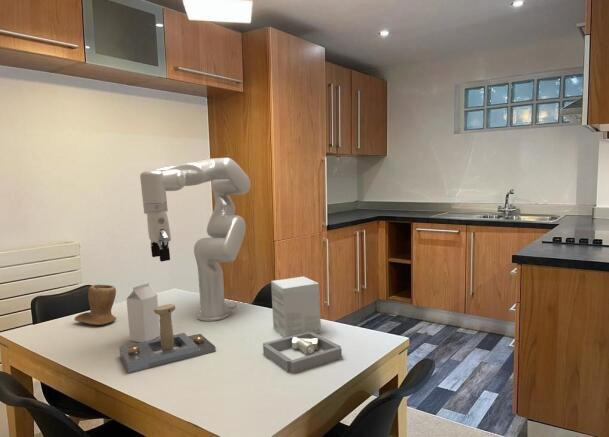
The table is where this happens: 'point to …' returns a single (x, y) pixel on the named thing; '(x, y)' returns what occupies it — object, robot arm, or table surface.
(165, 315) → the handle
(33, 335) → the table surface
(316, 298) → the supplement box
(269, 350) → the parts fence
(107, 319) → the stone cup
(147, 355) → the upper end link
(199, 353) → the lower end link
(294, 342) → the pipe fitting
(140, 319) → the milk carton
